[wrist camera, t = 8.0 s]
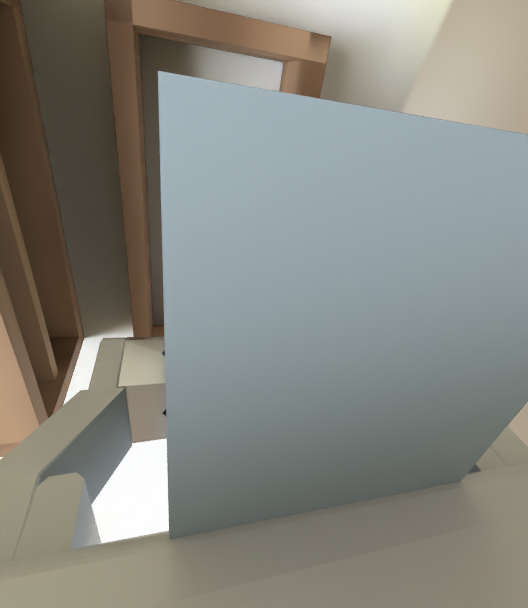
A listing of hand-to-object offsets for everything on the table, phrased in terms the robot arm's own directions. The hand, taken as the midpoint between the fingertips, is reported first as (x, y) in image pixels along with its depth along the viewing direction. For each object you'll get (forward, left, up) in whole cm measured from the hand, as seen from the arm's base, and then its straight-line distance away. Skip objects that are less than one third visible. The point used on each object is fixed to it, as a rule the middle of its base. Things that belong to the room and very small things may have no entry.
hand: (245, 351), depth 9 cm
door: (0, 0, -3) cm, 3 cm away
